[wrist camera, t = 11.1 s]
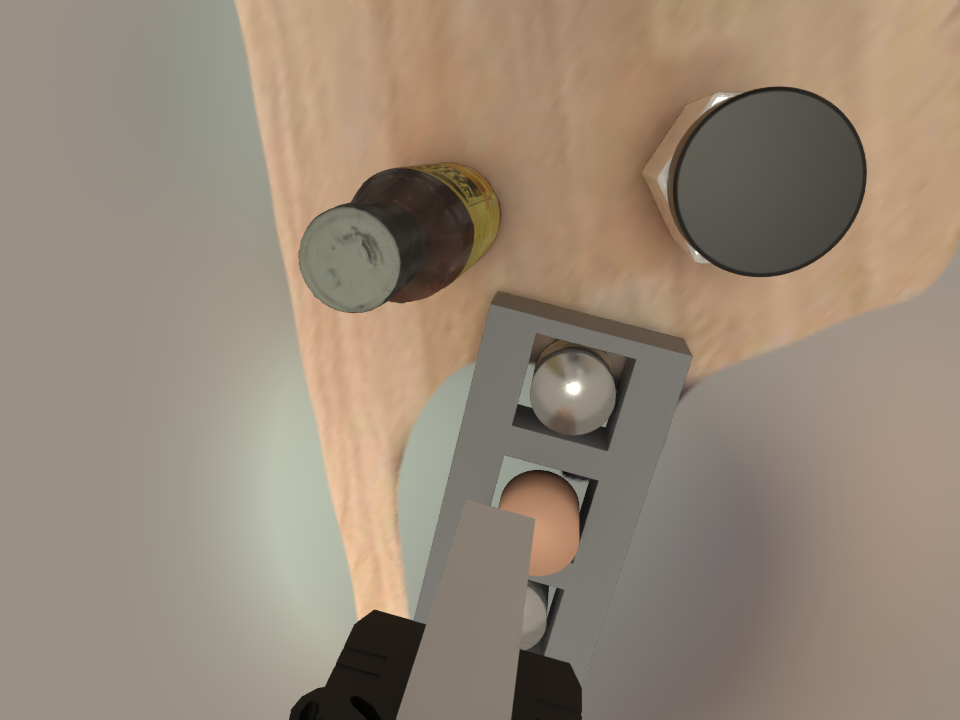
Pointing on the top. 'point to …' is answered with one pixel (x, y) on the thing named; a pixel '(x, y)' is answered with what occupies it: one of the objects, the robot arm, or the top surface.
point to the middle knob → (546, 517)
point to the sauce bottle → (400, 237)
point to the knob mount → (564, 456)
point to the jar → (759, 179)
